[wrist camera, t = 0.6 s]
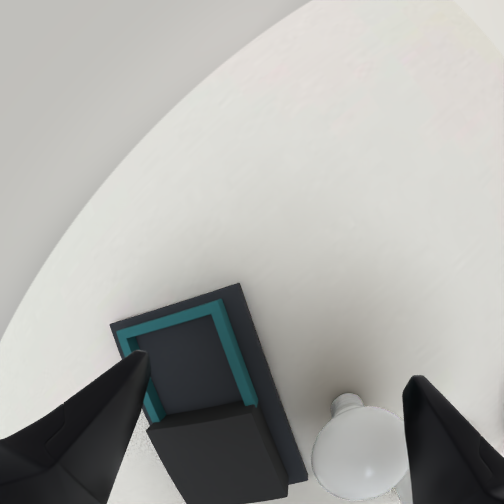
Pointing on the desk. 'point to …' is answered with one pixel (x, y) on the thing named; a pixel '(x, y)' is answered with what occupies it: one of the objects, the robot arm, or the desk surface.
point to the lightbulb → (360, 450)
